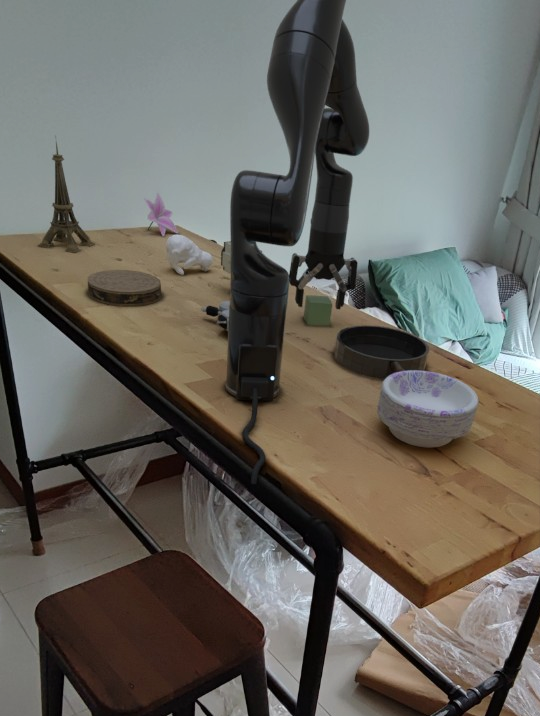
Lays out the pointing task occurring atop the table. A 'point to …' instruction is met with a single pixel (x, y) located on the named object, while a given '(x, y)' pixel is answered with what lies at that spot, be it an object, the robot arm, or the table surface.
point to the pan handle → (396, 367)
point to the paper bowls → (426, 407)
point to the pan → (379, 350)
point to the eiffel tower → (63, 214)
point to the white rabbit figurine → (186, 254)
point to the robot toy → (219, 313)
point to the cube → (317, 310)
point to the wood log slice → (124, 287)
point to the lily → (160, 215)
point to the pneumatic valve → (226, 256)
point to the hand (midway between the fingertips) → (318, 307)
